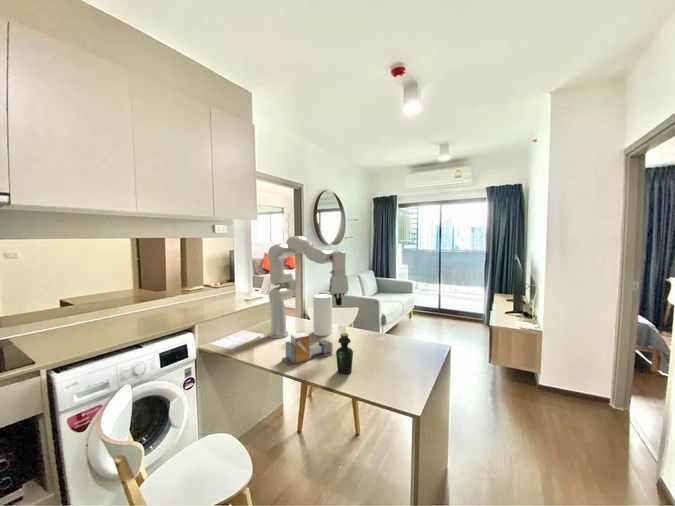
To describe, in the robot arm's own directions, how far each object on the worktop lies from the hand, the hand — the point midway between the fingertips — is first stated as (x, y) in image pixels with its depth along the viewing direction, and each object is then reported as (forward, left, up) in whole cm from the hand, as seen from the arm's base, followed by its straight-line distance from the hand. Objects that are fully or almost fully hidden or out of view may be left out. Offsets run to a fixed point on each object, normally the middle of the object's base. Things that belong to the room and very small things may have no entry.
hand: (338, 304), depth 160 cm
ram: (0, -13, -25) cm, 28 cm away
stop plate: (0, -29, -26) cm, 39 cm away
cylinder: (-30, +6, -26) cm, 40 cm away
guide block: (0, -9, -26) cm, 27 cm away
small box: (0, -24, -26) cm, 35 cm away
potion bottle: (+24, -11, -26) cm, 37 cm away
